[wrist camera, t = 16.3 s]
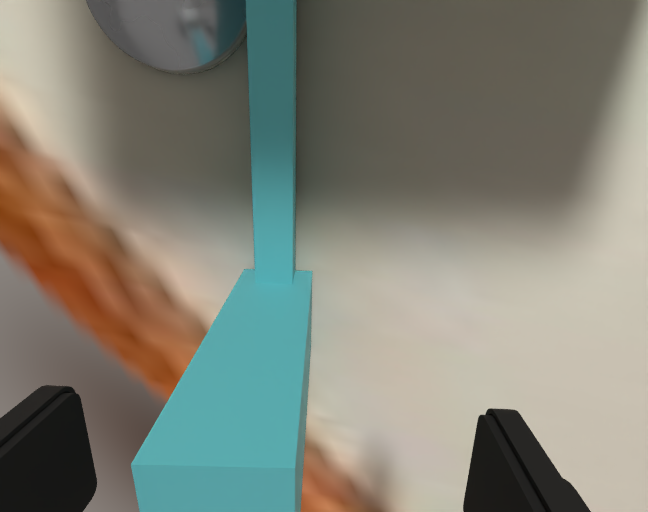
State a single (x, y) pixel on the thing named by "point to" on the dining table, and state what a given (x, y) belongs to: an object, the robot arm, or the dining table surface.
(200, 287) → the dining table surface
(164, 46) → the grey flat disc
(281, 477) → the scraper
